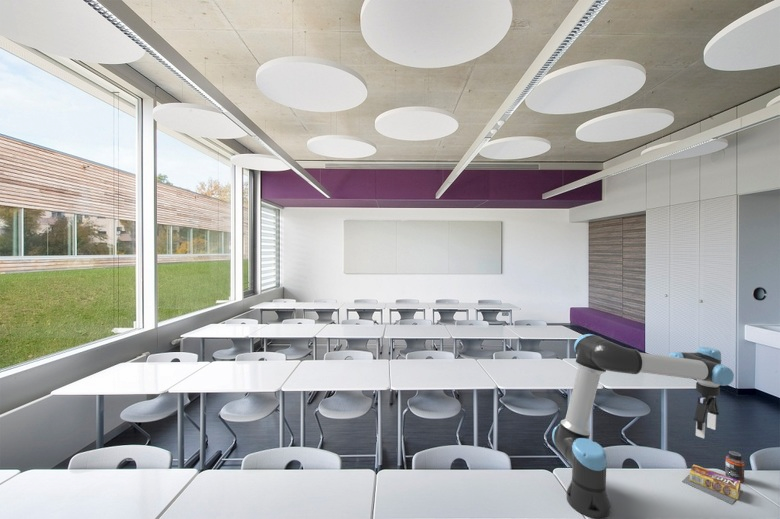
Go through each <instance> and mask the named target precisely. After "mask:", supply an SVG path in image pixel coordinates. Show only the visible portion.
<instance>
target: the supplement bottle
mask: <svg viewBox="0 0 780 519" xmlns="http://www.w3.org/2000/svg"><path fill="white" fill-rule="evenodd" d="M742 458H743V457H742V454H741V453H739V452H738V451H734V450H729V451H728V455H726V456H725V470H724V471H725V476H727V477H730V478H733V479H736V480H739V481H740V483H743V482H745V461H744V459H742ZM729 472H730V473H729Z"/></svg>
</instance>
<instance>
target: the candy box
mask: <svg viewBox="0 0 780 519" xmlns="http://www.w3.org/2000/svg"><path fill="white" fill-rule="evenodd" d="M689 474H690V475H689ZM689 474H688V475H689V480H690V481H692V482H694V483H697V484H700V485H702V486H705V487H707V488H710V489H712V490H715V491H717V492H720V493H722V494H725V495H727V496H730V497H732V498H735V499H736V500H739V496H740V495H739V493H740V490H741V489H742V488H741V486H742V485H741V482H740V481H739V480H736V479H733V478H730V477H727V476H726V475H724V474H721V473H719V472H716V471H713V470H712V469H708V468H705V467H702V466H699V465H696V464H693V465H691V468H690V471H689Z"/></svg>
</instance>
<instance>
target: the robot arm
mask: <svg viewBox="0 0 780 519" xmlns="http://www.w3.org/2000/svg"><path fill="white" fill-rule="evenodd" d="M573 349H574V353H575V354H576V359H575V364H576V365H577V367H578V368H577V371H576V375H575V380H574V383H573V387H572V392H571V394H570V398H569V404H568V407H567V412H566V415H565V418H564V419H562V420H560V423H558V425H556V426H555V427H554V428H553V430H552V432H551V433H552V434H551V435H552V436H551V439H552V442H553V444H554V446H555V448H556V449H557V451H559V453H560V454H561V455H562V456H563V457H564V458H565V459H566V461H567V462H568V463H569V464H570V465H571V481H570V483H569V485H568V488H567V490H566V501H567V503H568V504H569V505H570V506H571V507H572V508H573V509H574V510H576V512H579V513H580V514H582V515H583V516H587V517H590V518H594V519H605V518H607V517H608V516H610V514H611V503H610V499H609V496H608V494H607V489H606V487H607V486H606V485H607V466H608V459H607V452H606V451H605V449H604V448H603V446H602V445H600V444H599V443H598V442H596V441H593V440H592V439H590V436H591V431H590V430H589V429H588V426H589V422H590V418H591V415H592V409H593V406H594V402H595V398H596V394H597V390H598V387H599V382H600V378H601V375H603V374H604V373H606V372H607V371H608V372H615V373H620V374H630V375H638V374H640V373H641V374H650V375H658V376H666V377H673V378H684V379H689V380H690V379H691V380H696V383H695V384H696V385H695V390H696V391H697V393H700V394H701V396H699V397H698V398H697V405H696V410H695V413H694V417H693V421H695V436H696V437H698V438H702V439H706V438H705V435H706V434H705V433H706V428H709V429H711V430H714V431H716V428H717V416H719V415H720V412H719V407H718V400H717V397H718V396H720V392H721V388H720V386H723V387H724V386H729V385H730V384H732V383H733V381H734V379H735V374H734V372H733V370H732V369H731V368H730V367H728V366H726V365H723V363H722V353H721V351H720V350H719V349H717V348H713V347H708V346H707V347H706V346H700V347H699V346H698V348H697V351H696V352H687V351H686V352H684V351H683V352H681V351H677V352H676V351H674V352H670V353H669V354H668V355H661V354H655V353H654V354H653V353H646V352H645V353H644V352H641V351H638V349H635V348H634V349H633V348H629V347H624V346H622V345H620V344H617V343H614V342H612V341H609V340H607V339H605V338H603V337H602V336H600V335H595V334H591V333H587V334H583V335H580V336H579V337H578V338H577V339H576V340H575V342H574V345H573ZM706 416H707V417H706ZM706 418H707V422H705V420H706Z"/></svg>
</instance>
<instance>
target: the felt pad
mask: <svg viewBox="0 0 780 519" xmlns="http://www.w3.org/2000/svg"><path fill="white" fill-rule="evenodd" d="M689 475H690V473H689V474H688V475H687V476H686V477H684V479H683V480H681V482H682V483H684V484H687V486H691V487H693V488H695V489H697V490H699V491H701V492H703V493H706V494H708V495H710V496H712V497H714V498H717V499H718V500H721V501H723V502H725V503H727V504H729V505H733V504H734V503H735V502H736V500H737V499H735V498H732V497H730V496H727V495H725V494H722V493H720V492H717V491H715V490H712V489H710V488H707V487H705V486H702V485H700V484H697V483H694V482H692V481H690V480H689ZM742 493H743V490H741V489H740V493H739V496H741V494H742Z"/></svg>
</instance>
